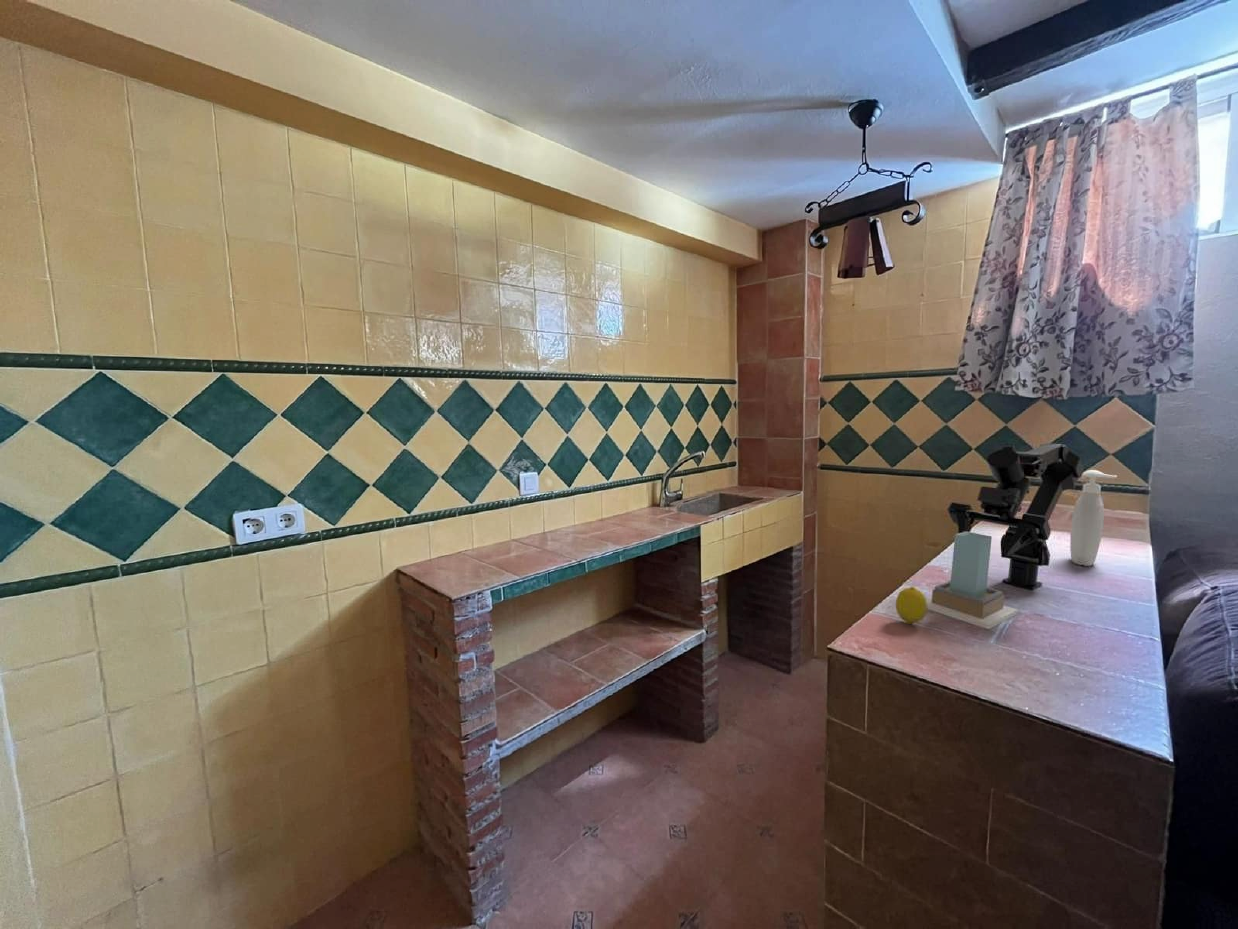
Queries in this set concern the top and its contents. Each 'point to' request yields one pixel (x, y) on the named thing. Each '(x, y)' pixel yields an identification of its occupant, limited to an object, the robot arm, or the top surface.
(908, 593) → the lemon
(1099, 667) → the top surface
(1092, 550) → the soap bottle
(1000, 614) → the build base
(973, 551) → the pillar
